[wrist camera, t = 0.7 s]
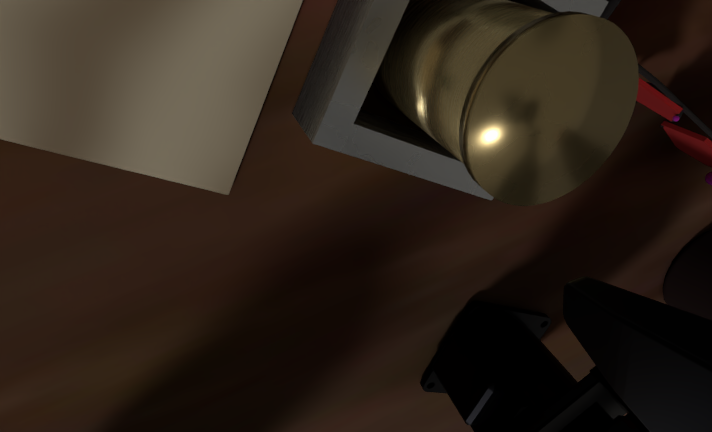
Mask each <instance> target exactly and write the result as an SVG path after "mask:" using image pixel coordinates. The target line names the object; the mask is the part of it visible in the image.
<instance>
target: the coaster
mask: <svg viewBox="0 0 712 432" xmlns="http://www.w3.org/2000/svg"><path fill="white" fill-rule="evenodd" d="M302 1H303V0H0V139H2V140H6V141H10V142H14V143H18V144H22V145H26V146H30V147H34V148H38V149H42V150H47V151H51V152H55V153H59V154H63V155H67V156H71V157H75V158H79V159H83V160H87V161H91V162H96V163H100V164H104V165H108V166H112V167H116V168H120V169H124V170H128V171H132V172H136V173H141V174H145V175H149V176H153V177H157V178H161V179H165V180H169V181H173V182H177V183H181V184H185V185H190V186H194V187H198V188H202V189H206V190H210V191H214V192H218V193H222V194H226V195H229V192H230V189H231V187H232V184H233V182H234V179H235V176H236V174H237V171H238V169H239V166H240V163H241V161H242V158H243V155H244V153H245V150H246V148H247V145H248V142H249V140H250V137H251V135H252V132H253V129H254V127H255V124H256V121H257V119H258V116H259V114H260V111H261V108H262V106H263V103H264V101H265V98H266V95H267V93H268V90H269V87H270V85H271V82H272V80H273V77H274V74H275V72H276V69H277V67H278V64H279V61H280V59H281V56H282V53H283V51H284V48H285V46H286V43H287V40H288V38H289V35H290V33H291V30H292V27H293V25H294V22H295V19H296V17H297V14H298V12H299V9H300V6H301V4H302Z"/></svg>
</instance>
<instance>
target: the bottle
mask: <svg viewBox="0 0 712 432" xmlns="http://www.w3.org/2000/svg"><path fill="white" fill-rule="evenodd" d="M663 296H664V300H665V302H666V303H667V304H668V305H670V306H673V307H675V308H678V309H681V310H684V311H687V312H690V313H692V314H695V315H698V316H701V317H704V318H707V319H709V320H712V230H711V231H709V232H706V233H705V234H703V235H702V236H700V237H699V238H697V239H696V240H694V241H693V242H692V243H691V244H690V245H688V246H687V247H686V248H685V249H684V250H683V251H682V252H681V253H680V255H679V256H678V257H677V258H676V260H675V261H674V262H673V264H672V265H671V267H670V269H669V271H668V273H667V275H666V277H665V281H664V285H663Z"/></svg>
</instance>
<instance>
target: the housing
mask: <svg viewBox="0 0 712 432" xmlns="http://www.w3.org/2000/svg"><path fill="white" fill-rule="evenodd" d="M514 1H516V2H518V3H519V4H523V5H526V6H530V7H533V8H537V9H540V10H544V11H547V12H551V13H557V12H565V11H574V12H582V13H586V14H590V15H594V16H597V17H600V16H601V14H602V12H603V11H604V9H605V7H606V6H607V4H608V1H606V0H514ZM408 3H409V0H338V1H337V4H336V6H335V9H334V11H333V14H332V16H331V19H330V21H329V24H328V26H327V28H326V31H325V33H324V36H323V38H322V41H321V43H320V46H319V48H318V51H317V53H316V56H315V58H314V61H313V63H312V65H311V68H310V70H309V73H308V75H307V78H306V80H305V83H304V85H303V88H302V90H301V93H300V95H299V97H298V100H297V102H296V105H295V107H294V110H293V112H292V114H293V116H294V117H295V119H296V120H297V122H298V123H299V125H300V126H301V127H302V129H303V130H304V132H305V133H306V135H307V136H308V137H309V139H310V140H311V142H312V143H313V144H316V145H320V146H323V147H326V148H329V149H332V150H335V151H338V152H341V153H345V154H348V155H351V156H354V157H357V158H360V159H363V160H366V161H370V162H373V163H376V164H379V165H382V166H385V167H388V168H391V169H395V170H398V171H401V172H404V173H407V174H410V175H413V176H416V177H420V178H423V179H426V180H429V181H432V182H435V183H438V184H442V185H445V186H448V187H451V188H454V189H457V190H460V191H463V192H467V193H470V194H473V195H476V196H479V197H482V198H485V199H488V200H492V199H493V198H494V197H493V196H491V195H490V194H488V193H487V192H486V191H485V190H484V189H483V188H481V187H480V186H479V185H478V184H477V183H476V182H475V181H474V180H473V179H472V177H471V176H470V175H469V173H468V171H467V169H466V167H465V165H464V164H463V163H462V162H461V161H460V160H458V159H457V158H456V157H455V156H454V155H452V154H451V153H450V152H449V151H448V150H446V149H445V148H444V147H443V146H442V145H440V144H439V143H438V142H437V141H436V140H434V139H433V138H432V137H431V136H429V135H428V134H427V133H424V132H421V131H419V130H416V129H413V128H411V127H408V126H405V125H403V124H400V123H397V122H395V121H392V120H389V119H387V118H384V117H381V116H379V115H376V114H373V113H370V112H368V111H365V110H362V109H360V108H361V106H362V104H363V102H364V99H365V97H366V95H367V93H368V91H369V88H370V86H371V84H372V82H373V80H374V77H375V75H376V73H377V71H378V69H379V66H380V64H381V62H382V60H383V58H384V55H385V53H386V51H387V49H388V47H389V44H390V42H391V40H392V38H393V36H394V33H395V31H396V29H397V27H398V25H399V22H400V20H401V18H402V16H403V14H404V11H405V9H406V7H407V5H408Z"/></svg>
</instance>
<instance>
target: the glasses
mask: <svg viewBox="0 0 712 432" xmlns="http://www.w3.org/2000/svg"><path fill="white" fill-rule="evenodd" d="M607 1H608V4H607V6H606V7H605V9H604V11H603V12H602V14H601V16H600V17H601V18H604V19H606V20H607V19H608V18H609V16H610V15H611V14H612V12H613V11H614V9H615V8H616V7H617V5H618V4H619V2H620V1H621V0H607ZM638 71H639V73H640V74H641V75H643V76H644V77H645V78H646V79H648V80H649V81H650V82H651V83H649V82H645V81H643V80H642V79H640V78H639V83H638V93H637V98H636V102H637V101H638V102H640V103H641V104H643V105H645V106H646V107H648V108H650V109H651V110H653V111H655V112H656V113H658V114H660V115H661V116H663V117H665V118H666V119H668V120H664V121H663V123H662V124H661V125H660V127H662V128H664V130H665V131H666V133H667V134H668V136H669V137H670V139H671V140H672V142H673V144H674V145H675V146H676V147H677V148H678V149H679V150H681V151H683V152H684V153H686V154H688V155H690V156H691V157H693V158H695V159H696V160H698V161H700V162H702V163H703V164H705V165H707V166H710V167H712V141H711V140H709V139H708V138H707V137H705V136H702V135H700V134H697V133H695V132H692V131H689V130H687V129H684V128H682V127H679V126H677V125H674V124H672V123H670V122H676V121H678V120H679V119H680V118H681V115H682V114H683V113H685V114H686V115H687V116H688V117H689V118H690V119H691V120H692V121H693V122H695V123H696V124H697V125H698V126H699V127H700V128H701V129H702V130H703V131H704V132H705V133H706V134H707V135H708V136H709V137H711V138H712V130H710V129H709V128H708V127H707V126H706V125H705V124H704V123H703V122H702V121H701V120H700V119H699V118H698V117H697V116H696V115H695V114H694V113H693V112H692V111H691V110H690V109H689V108H687V107H686V106H685V105H684V104H683V103H682V102H681V101H680V100H679V99H678V98H677V97H676V96H675V95H674V94H673V93H672V92H671V91H670V90H669V89H668V88H667V87H666V86H664V85H663V84H662V83H661V82H660V81H659V80H658V79H657V78H655V77H654V76H653V75H652V74H651V73H649V72H648V71H647V70H646V69H644V68H643V67H642V66H640V65H639V64H638ZM666 96H667V97H668V98H667V97H666ZM635 104H636V103H635ZM705 181H706V182H707V183H708V184H710V185H712V172H709V173H708V174H707V175H706V176H705Z"/></svg>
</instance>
